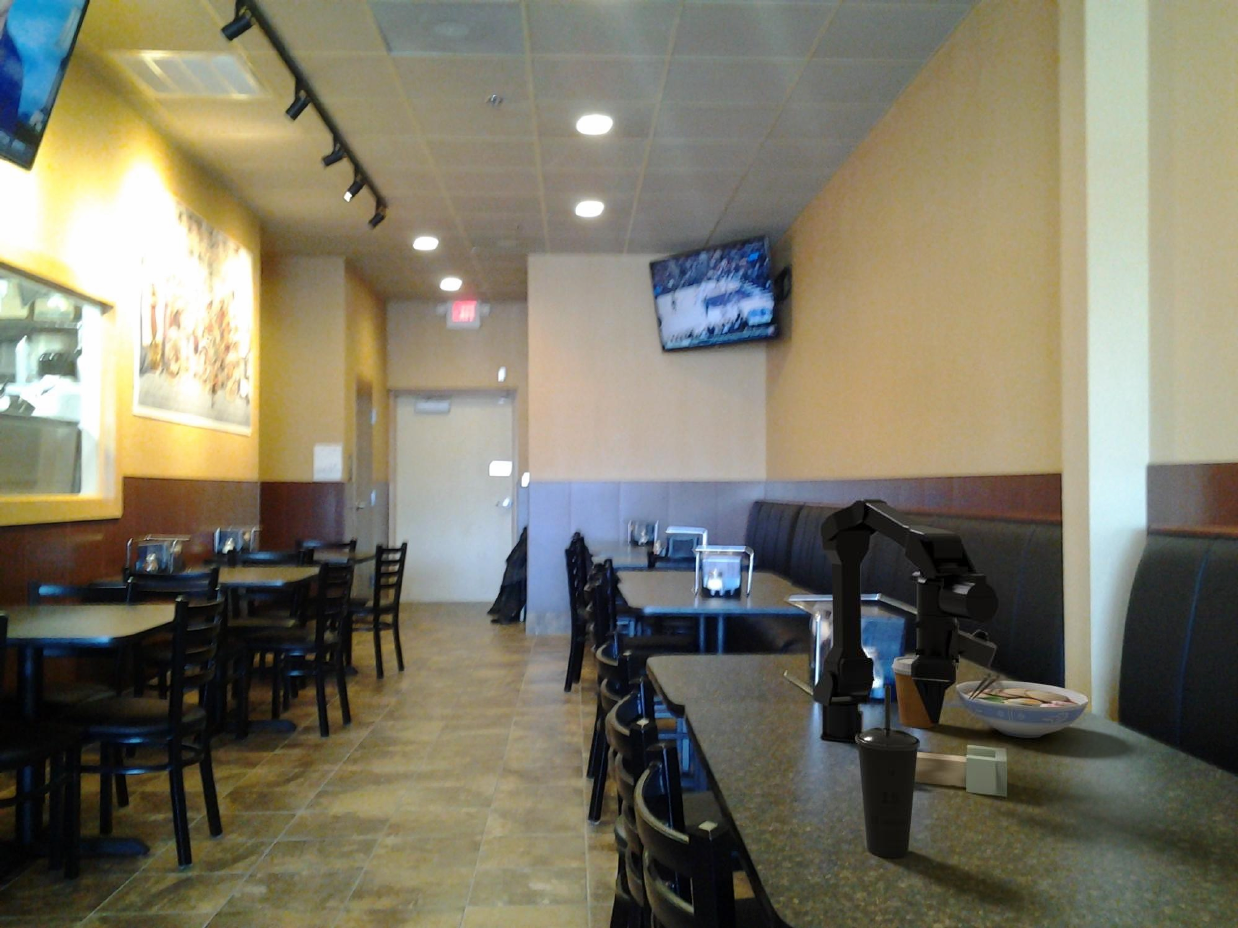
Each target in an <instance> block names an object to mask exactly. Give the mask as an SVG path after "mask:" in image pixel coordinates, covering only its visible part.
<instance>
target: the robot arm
mask: <svg viewBox="0 0 1238 928" xmlns="http://www.w3.org/2000/svg"><path fill="white" fill-rule="evenodd" d="M878 533H879V534H881V535H882V536H884V537H886V538H887V539H888V540H890V541H892V542H894V544H897V545H898V546H899V547H900V548H902V549H903V556H904V557H905V558H906V559H907V561H908V562H909V563H911V564H912V565H913V566H914V567H915V568H916V570H915V571H914V572H913V573H912V574H911V575H910V576H909V577H908V581H909V582H911V583H916V621H915V629H916V648H915V657H916V658H915V659H914V660H913V661H912V663H911V677H913V678H912V680H913V682H914V684H915V686H916V688H917V691H918V693H919V695H920V698H921V700H922V702H923V705H924V707H925V710H926V712H927V715H928V717H929V719H930V722H931V723H932V724H935V725H938V724H940V720H941V719H940V718H941V714H942V710H943V705H944V700H945V695H946V692H947V691H946V690H948V689H950V688H951V687H952V686H953V685H955V683H956V682H957V677H958V676H957V675H958V673H957V672H958V669H959V664H960V659H961V658H960V657H963V658H964V659H965V658H966V659H968V660H970V661H972V662H975V663H978V665H979V666H982V667H984V668H990V666H991V664H992V661H993V659H994V657H995V654H996V651H997V649H998V648H997V645H996V644H995V643H994V642H993V641H989V634H988V632H986V631H983V630H981V629H977V630H976V631H974V632H973V633H972V634H971V633H970V632H965V631H963V630H960V623H959V621H958V620H957V619H960V620H965V621H970V622H975V623H980V624H981V623H986V622H989V621H990V620H992V619H993V617H995V615H996V613H997V610H998V608H999V598H998V596H997V593H996V591H995V589H994V588H993V587H992V586H991V585H990V584H988V583H987V575H986V574H978V573H977V571H976V569H975V568H976V567H975V565H974V563H973V561H971V558H970V557H969V554H968V552H967V550H966V547H965V546H964V544H963V543H962V541H963V540H962V538H961V537H960V535H958V534H957V533H956V532H953V531H951V530H947V529H942V528H937V527H931V526H926V525H923V524H922V523H920V522H918V521H917V520H914V519H913V518H911V517H909V516H908V515H906V514H904V513H902V512H901V511H899V510H897V509H896V508H894V507H892V506H890V505H889V504H888V503H887V502H886V501H885V500H882V498H881V499H880V498H860V499H858V500H856V501H854V502H853V503H852V504H851V505H849V506H846V507H844V508H841V509H839V510H837V511H835V512H833V513H832V514H829V515H828V516H827V517H826V518H825V520H824V521H823V522H822V523H821V526H820V536H821V544H822V550H823V552H824V553H825V556H827V558H828V559H829V562H830V563H831V574H832V576H831V578H832V581H831V584H832V585H831V586H832V594H831V595H832V646H831V648H830V649H829V651H828V653H827V655H826V657H825V658H824V661H823V669H822V670H823V672H822V675H821V676H820V677H819V679H818V680H817V682H816V683H815V685H814V687H813V688H812V694H813V700H814V702H816V703H817V704H818V703H819V704H820V705H822V707H821V708H822V709H821V710H822V711H821V712H822V713H821V715H822V717H821V718H822V719H821V720H822V721H821V727H822V729H821V731H822V733H821V734H820V737H819V738H820V739H821V740H828V741H829V740H830V741H837V742H838V741H839V742H846V743H847V742H848V743H857V742H856V740H855V737H856V735H857V734H858V733H861V732H864V711H863V710H861V705H862V704H866V705H869V703H870V699H871V694H872V690H873V685H874V682H875V676H874V675H875V674H874V665H875V664H874V663H875V662H874V659H873V657H871V656H870V657H869V656H868V655H867V652H866V651H865V650H864V649H863V645H862V584H861V583H862V577H861V576H862V575H861V574H862V573H861V572H862V571H861V568H862V567H861V566H862V563H863V562H864V561H865V558H866V557H867V555H868V553H869V551H870V548H871V547H870V545H871V538H872V537H874V536H876V534H878Z"/></svg>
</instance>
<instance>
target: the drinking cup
mask: <svg viewBox="0 0 1238 928" xmlns="http://www.w3.org/2000/svg"><path fill="white" fill-rule="evenodd" d="M891 688H892V687H891V686H890V685H884V726H878V727H872V728H869V729H866V730H865V731H864V730H863V732H861V733H858V734H857V735H856V737H855V740H856V742H855V743H857V748H858V759H859V760H858V761H859V769H860V780H861V781H860V783H861V784H860V785H861V793H862V805H863V806H862V807H863V816H864V817H863V818H864V828H865V838H866V849H867V851H868V852H869V853H870V854H871V855H874V856H877V857H880V858H886V859H900V858H901V859H902V858H904V857H906V856H908V854H909V848H910V847H909V846H910V835H911V826H912V825H911V824H912V814H913V803H914V793H915V783H916V782H915V772H916V761H917V752H918V749H919V748H920V746H921V740H920V739H919V738H918V737H916V736H914V735H912V734H910V733H908V732H907V731H905V730H902V729H899V728H895V727H891V706H892V705H891V693H892V692H891Z"/></svg>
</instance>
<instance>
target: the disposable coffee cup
mask: <svg viewBox="0 0 1238 928" xmlns="http://www.w3.org/2000/svg"><path fill="white" fill-rule="evenodd" d="M916 657H917V656H900V657H899V656H898V657H895V658H894V659H893V664H891V668H892V670H893V672H894V680H895V689H896V696H897V697H896V698H897V704H898V714H899V721H900V724H901V725H903V726H905V727H910V728H915V729H927V728H928V729H931V728H933V727H935V726H936V724H932V723H931V722H930V719H929V717H928V715H927V712H926V710H925V707H924V705H923V702H922V700H921V698H920V695H919V693H918V691H917V688H916V686H915V684H914V682H913V680H912V678H913V677H911V663H912V661H913V660H914V659H915V658H916Z"/></svg>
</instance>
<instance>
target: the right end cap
mask: <svg viewBox="0 0 1238 928" xmlns="http://www.w3.org/2000/svg"><path fill="white" fill-rule="evenodd" d="M966 748H967V749H966V756H965V757H966V787H965V788H966V789H965V790H966V791H965V792H966V793H972V794H980V795H981V794H982V795H988V796H989V795H991V796H996V797H997V796H998V797H1004V798H1006V797H1008V790H1007V789H1008V787H1007V786H1008V776H1007V775H1008V771H1007V770H1008V760H1007V759H1008V758H1007V748H1000V747H993V746H992V747H991V746H983V745H982V746H981V745H972V744H967V746H966Z"/></svg>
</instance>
